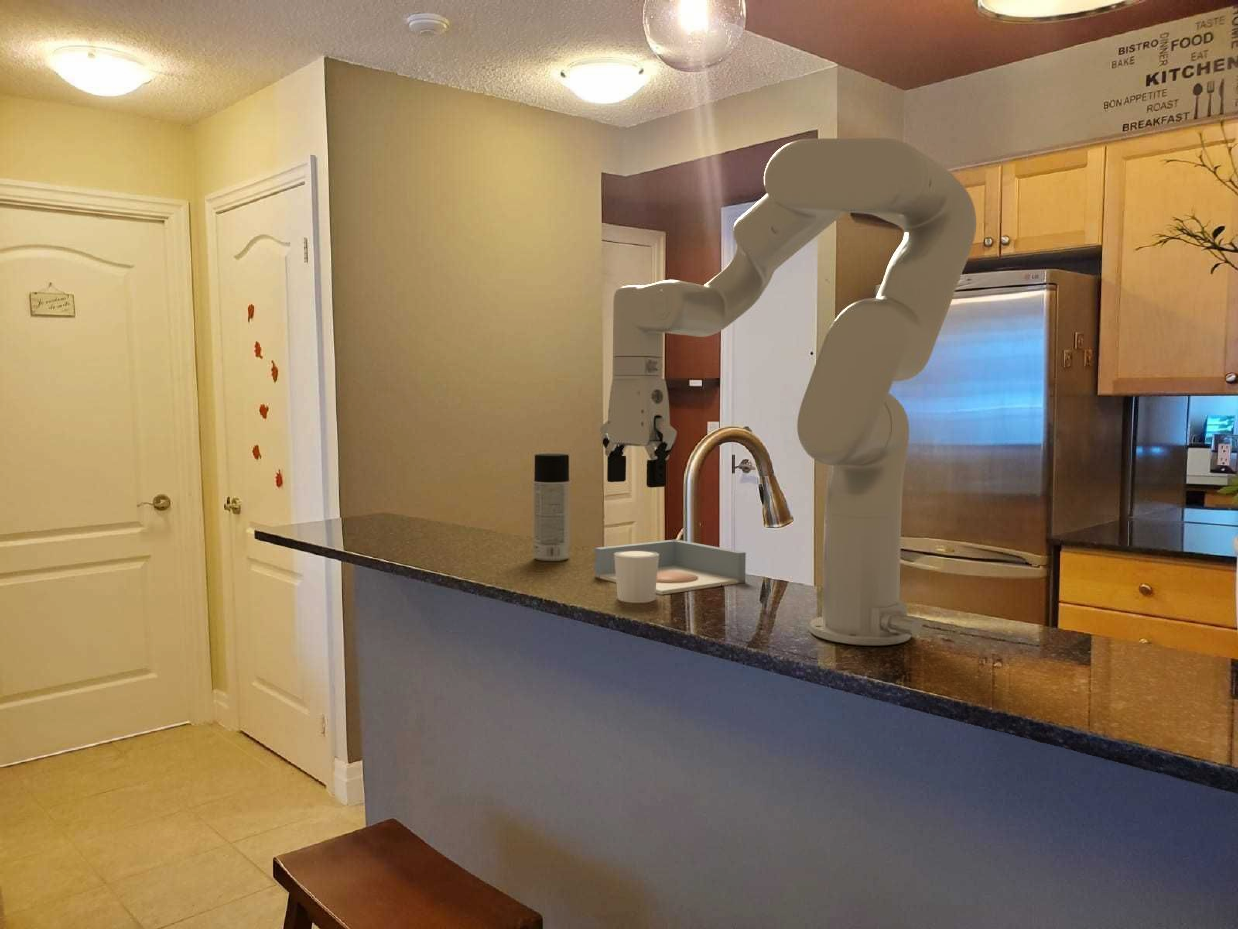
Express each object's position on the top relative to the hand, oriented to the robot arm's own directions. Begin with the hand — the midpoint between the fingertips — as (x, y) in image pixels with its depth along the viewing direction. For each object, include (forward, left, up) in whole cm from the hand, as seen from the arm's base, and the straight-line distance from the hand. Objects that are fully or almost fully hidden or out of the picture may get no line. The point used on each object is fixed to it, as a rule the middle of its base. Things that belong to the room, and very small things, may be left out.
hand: (635, 484), depth 138 cm
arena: (+9, -14, -17) cm, 24 cm away
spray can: (+38, -9, -18) cm, 43 cm away
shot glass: (0, 0, -18) cm, 18 cm away
